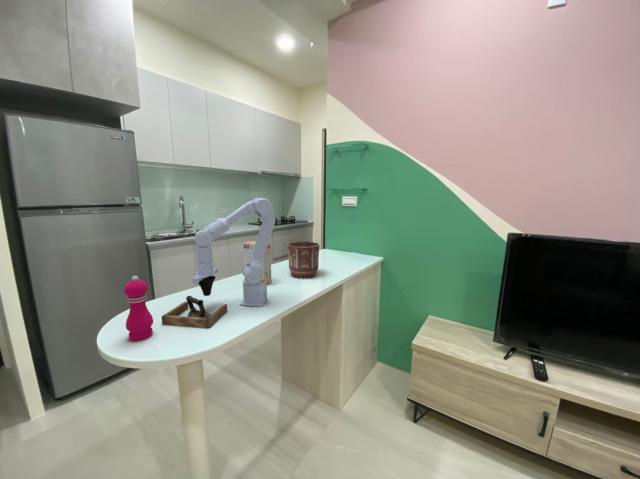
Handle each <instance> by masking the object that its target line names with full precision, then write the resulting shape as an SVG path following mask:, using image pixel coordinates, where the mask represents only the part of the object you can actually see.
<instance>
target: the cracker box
mask: <svg viewBox="0 0 640 479" xmlns="http://www.w3.org/2000/svg"><path fill="white" fill-rule="evenodd" d="M255 243H256V241H253V240H249V241H244V242H243V262H244V264H243V265H244V266H243V268H244V267H245V266H246V264H247V262H248V260H249V259H250V257H251V254H252V251H253V248H254V245H255ZM261 282H263V283H266V284H267V285H269V284H271V283H272V244H271V243H268V246H267V249H266V251H265V254H264V257H263V260H262V270H261Z"/></svg>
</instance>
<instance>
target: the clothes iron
mask: <svg viewBox="0 0 640 479" xmlns="http://www.w3.org/2000/svg"><path fill="white" fill-rule="evenodd" d="M185 300H186V302H188V309H190V310H189V312H188V314H187V317H198V318H208V317H209V316H211V315H212V314H211V313H209V312H206V309H205V306H204V300H203V299H198V298H196V297H193V296H192V295H187V296H186V298H185ZM194 305H197V306H198V309H199V310H198V309H197V308H196V307H195V306H194Z"/></svg>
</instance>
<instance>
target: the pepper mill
mask: <svg viewBox="0 0 640 479" xmlns="http://www.w3.org/2000/svg"><path fill="white" fill-rule="evenodd" d="M148 288H149V287H148V284H147V283H146V282H145V281H144V280H142V279H139V276H137V275H133V276H131V281H129V282H126V284H125V285H124V289H123V292H124V294H125V295H126V297H127V298H126V299H127V300H126V301H127V303H128V304H129V312H128V316H127V319H126V321H125V328H126V330H127V331H128V339H129V341H131V342H132V341H133V342H138V341H139V342H140V341H144V340H146V339H149V338H150V337H151V336H153V328H152V325H153V324H154V318H153V315H152V313H151V312H150V311H149V309H148V307H147V304H146V300H147V299H148V297H147V294H146V293H147V292H148Z"/></svg>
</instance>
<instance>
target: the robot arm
mask: <svg viewBox="0 0 640 479" xmlns="http://www.w3.org/2000/svg"><path fill="white" fill-rule="evenodd" d="M252 214H253V215H254V214H256V215H258V217H259V219H260V221H261V225H260V228H259V230H258V231H259V232H258V234H257V237H256V239H255V240H256V243H255V245H254V248H253V251H252V254H251V257H250V259H249V260H248V262H247V264H246V266H245V267H244V266H243V268H242V275H243V277H244V279H243V281H242V294H243V295H242V297H243V301H241V302H240V303H239V305H240V306H245V307H260V308H261V307H263V306H264V305H265V303H266V302H267V301H268V286H267V285H268V284H266V283H263V282H261V270H262V260H263V257H264V254H265V251H266V249H267V246H268V243H269V242H270V239H271V236H272V233H273V230H274V226H275V224H276V218H275V214H274V206H273V204H272V203H271V202H270V200H269V199H268V198H266V197H255V198H253V199H252V200H250V201H247V202H246V203H244V204H243V205H241V206H240V207H239V208H237V209H236V210H234V211H233V212H231V213H230V214H228V215H227V216H226V217H225V218H222V217H218V218H214V219H212V222H211V223H210V224H208V225H206V226H203V227H202V229H201V230H198V231H197V232H196V233H195V236H194V242H195V249H196V250H195V257H196V258H195V259H196V270H197V271H196V272H194V275H195V276H193V277H192V279H191V280H192V284H195V285H198V286H199V287H200V289H201V292H202V295H203V296H204V297H205V296H206V297H209V296H211V294H212V289H213V285H214V282H215V280H216V276H215V274H217V273H218V267H214V261H213V260H214V259H213V258H214V257H213V249H212V242H213V241H214V240H216V239H218V238H220V237H221V236H222V235H223V234H225V233H226V232H228V231H229V229H230V227H231V225H232V224H234V223H235V222H238V221H239V220H240V219H241V218H244V217H245V216H246V215H252Z"/></svg>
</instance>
